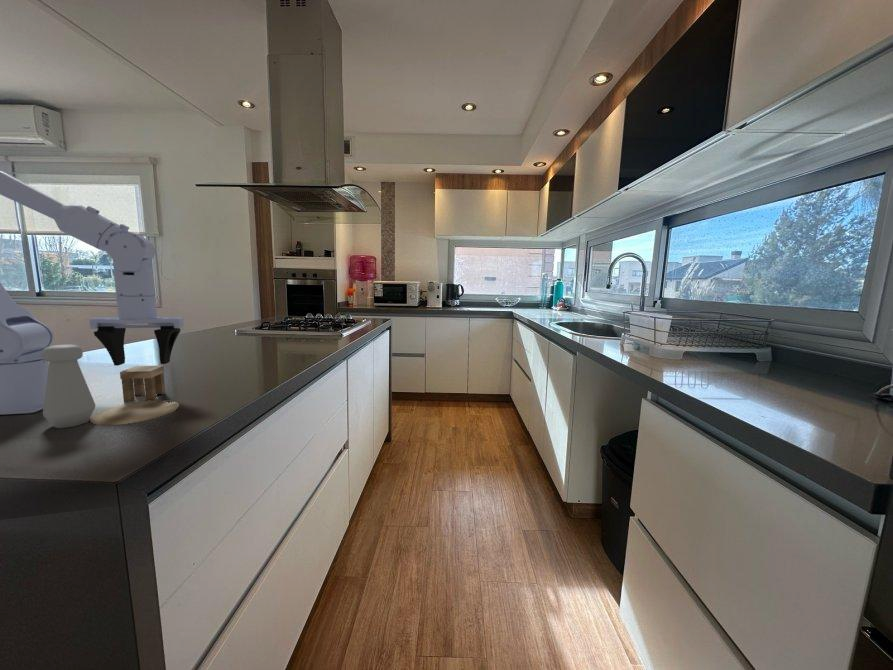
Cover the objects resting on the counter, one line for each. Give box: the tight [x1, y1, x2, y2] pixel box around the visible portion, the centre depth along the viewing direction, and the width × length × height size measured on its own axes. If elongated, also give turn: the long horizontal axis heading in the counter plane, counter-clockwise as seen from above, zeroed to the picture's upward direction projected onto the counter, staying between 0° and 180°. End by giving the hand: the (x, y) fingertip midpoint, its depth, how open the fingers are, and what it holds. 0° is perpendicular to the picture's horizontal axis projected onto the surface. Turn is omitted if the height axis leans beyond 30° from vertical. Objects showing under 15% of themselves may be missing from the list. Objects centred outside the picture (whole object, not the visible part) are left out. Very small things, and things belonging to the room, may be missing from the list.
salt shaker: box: [42, 343, 96, 429], centre depth 56 cm, size 6×6×13 cm
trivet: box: [89, 400, 180, 426], centre depth 62 cm, size 12×12×1 cm
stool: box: [119, 364, 166, 403], centre depth 70 cm, size 5×5×6 cm
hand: (142, 363), depth 69 cm, fingers open, 7 cm apart
